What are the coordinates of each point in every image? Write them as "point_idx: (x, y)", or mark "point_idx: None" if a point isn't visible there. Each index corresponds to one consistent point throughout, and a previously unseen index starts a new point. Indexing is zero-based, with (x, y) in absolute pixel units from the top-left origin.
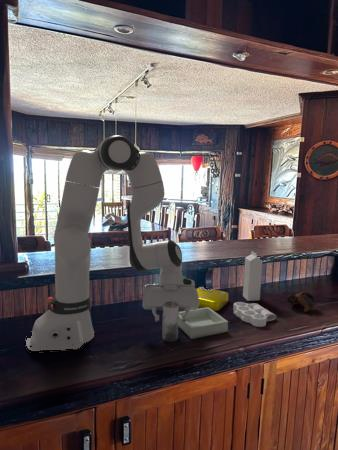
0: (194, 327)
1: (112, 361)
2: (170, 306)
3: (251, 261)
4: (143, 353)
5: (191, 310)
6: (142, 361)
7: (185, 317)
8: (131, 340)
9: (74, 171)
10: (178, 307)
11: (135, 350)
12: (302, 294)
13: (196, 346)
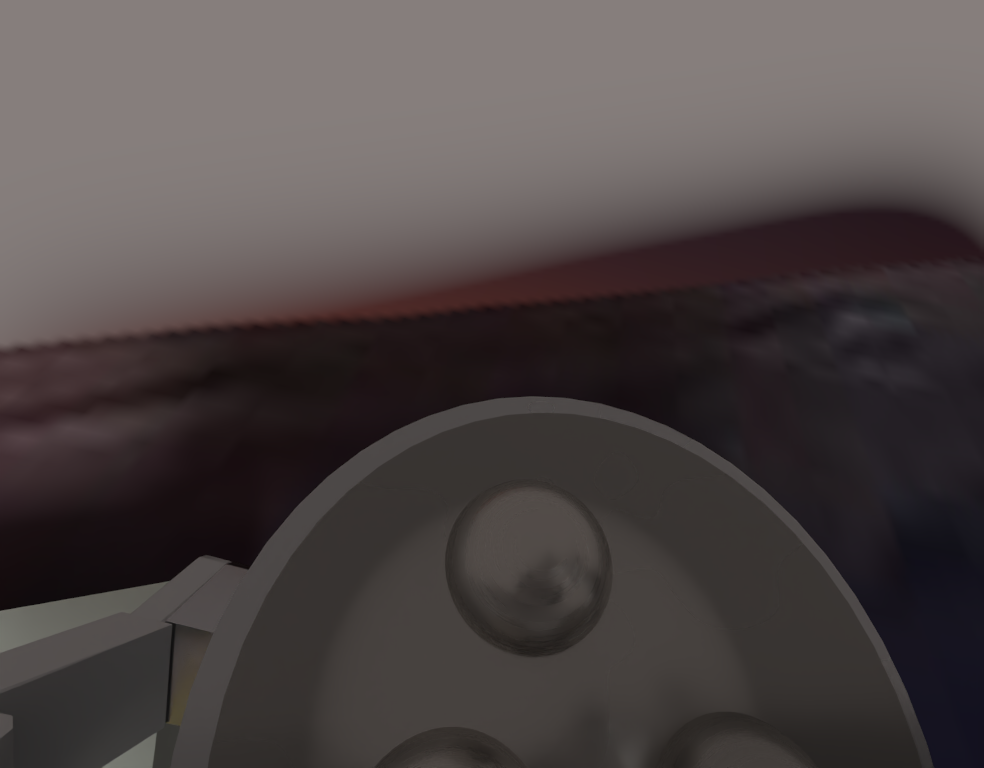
0: (117, 593)
1: (941, 384)
2: (627, 467)
3: None
4: (745, 433)
5: None
6: (738, 344)
7: (193, 581)
8: (916, 704)
9: None
10: (304, 522)
11: (820, 490)
12: None
13: (270, 445)
